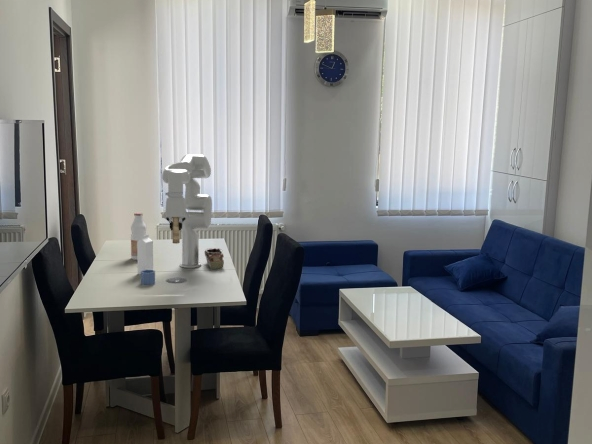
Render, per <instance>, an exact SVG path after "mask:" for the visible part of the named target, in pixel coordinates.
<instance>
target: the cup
mask: <svg viewBox="0 0 592 444" xmlns="http://www.w3.org/2000/svg"><path fill="white" fill-rule="evenodd" d="M140 284H141V285H142V286H153V285H155V284H156V270H154V269H153V270H143V271H141V274H140Z"/></svg>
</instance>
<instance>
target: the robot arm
mask: <svg viewBox="0 0 592 444" xmlns="http://www.w3.org/2000/svg"><path fill="white" fill-rule="evenodd" d="M208 160H209V159H208V158H207V157H206V156H205V155H203V154H186V155H184V156H183V157H182V158H181V159H180V161H177V162H175V163H172V164H169V165H166V167H165V168H164V170H163V172H162V176H161V178H162V181H163V182H164V184H168V185H167V186H168V187H167V188H168V189H167V192H165V196H167V197H166V201H165V212H164V214H163V215H162V218H163V219H165V220H166V221H167V222H168V223H169V229H170V231H171V232H172V230H173V227H172V217H179V230H180V231H181V248H182V249H181V251H182V252H181V259H182V260H181V262H180V263H179V267H181V268H185V269H187V268H188V269H194V268H199V267H201V266H202V262H200V260H199V258H200V253H199V251H200V249H199V247H200V246H199V241H200V240H199V234H198V232H197V231H196V229H197V230H208V229H209V228H210V227H211V224H212V214H213V213H212V209H213V200H212V197H211V196H210V195H209V194H201V185H200V183H199V182H198V181H197V180H196V179H207V178H210V177H211V175H212V169H211V165H210V163H209V161H208ZM184 185H185V188H184ZM184 189H185V191H184ZM187 211H188V212H187ZM193 211H195V212H193ZM198 211H199V212H198ZM200 211H201V212H200Z"/></svg>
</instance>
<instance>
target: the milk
mask: <svg viewBox="0 0 592 444" xmlns="http://www.w3.org/2000/svg"><path fill="white" fill-rule="evenodd" d="M137 259H138V260H137V274H138V275H141V271H143V270H154V240H152V239H151V238H150V237H149V234H147V235H145V236H141V240H139V241H137Z"/></svg>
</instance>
